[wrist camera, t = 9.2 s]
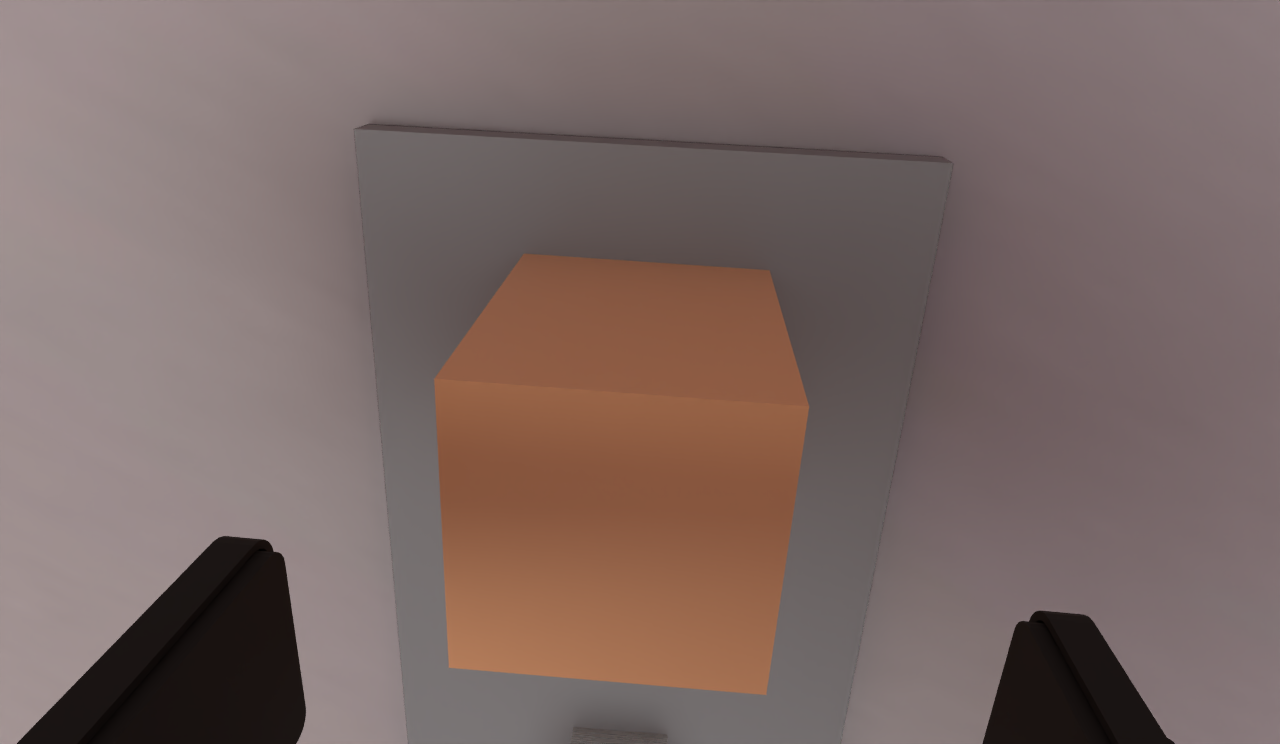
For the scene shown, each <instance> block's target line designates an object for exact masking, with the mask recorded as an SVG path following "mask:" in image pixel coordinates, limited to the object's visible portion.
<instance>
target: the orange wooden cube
mask: <svg viewBox="0 0 1280 744" xmlns="http://www.w3.org/2000/svg"><path fill="white" fill-rule="evenodd" d="M434 385H435V405H436V424H437V444H438V464H439V483H440V503H441V523H442V542H443V562H444V582H445V601H446V621H447V641H448V660H449V668H457V669H469V670H481V671H492V672H504V673H515V674H527V675H539V676H550V677H562V678H574V679H585V680H597V681H609V682H620V683H632V684H643V685H655V686H667V687H678V688H690V689H702V690H713V691H725V692H737V693H748V694H760V695H766V693H767V686H768V680H769V673H770V666H771V659H772V653H773V646H774V639H775V633H776V626H777V619H778V612H779V606H780V599H781V592H782V586H783V579H784V572H785V565H786V559H787V552H788V545H789V539H790V532H791V525H792V518H793V512H794V505H795V498H796V492H797V485H798V478H799V471H800V465H801V458H802V451H803V445H804V438H805V431H806V424H807V418H808V411H809V404H808V401H807V397H806V394H805V390H804V387H803V384H802V380H801V377H800V373H799V370H798V366H797V363H796V359H795V356H794V353H793V349H792V346H791V342H790V339H789V335H788V332H787V329H786V325H785V322H784V318H783V315H782V311H781V308H780V305H779V301H778V298H777V294H776V291H775V287H774V284H773V280H772V277H771V274H770V270H758V269H744V268H729V267H714V266H700V265H685V264H670V263H656V262H641V261H626V260H611V259H597V258H582V257H567V256H553V255H538V254H523V256H522V257H521V258H520V260H519V261H518V263H517V264H516V265H515V267H514V268H513V270H512V271H511V272H510V274H509V275H508V276H507V278H506V279H505V281H504V282H503V283H502V285H501V286H500V288H499V289H498V290H497V292H496V293H495V295H494V296H493V297H492V299H491V300H490V302H489V303H488V304H487V306H486V307H485V309H484V310H483V311H482V313H481V314H480V316H479V317H478V318H477V320H476V321H475V323H474V324H473V325H472V327H471V328H470V330H469V331H468V332H467V334H466V335H465V337H464V338H463V339H462V341H461V342H460V344H459V345H458V346H457V348H456V349H455V350H454V352H453V353H452V355H451V356H450V357H449V359H448V360H447V362H446V363H445V364H444V366H443V367H442V369H441V370H440V371H439V373H438V374H437V376H436V377H435V378H434Z"/></svg>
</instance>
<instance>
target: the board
mask: <svg viewBox="0 0 1280 744" xmlns="http://www.w3.org/2000/svg"><path fill="white" fill-rule="evenodd" d="M354 136H355V147H356V158H357V170H358V181H359V192H360V204H361V215H362V227H363V238H364V249H365V261H366V272H367V284H368V295H369V306H370V318H371V329H372V341H373V352H374V363H375V375H376V386H377V398H378V409H379V420H380V432H381V443H382V455H383V466H384V477H385V489H386V500H387V512H388V523H389V534H390V546H391V557H392V568H393V580H394V591H395V603H396V614H397V625H398V637H399V648H400V660H401V671H402V682H403V694H404V705H405V717H406V728H407V739H408V744H570V743H571V737H572V732H573V727H582V728H594V729H606V730H618V731H630V732H642V733H654V734H666V735H667V744H841V740H842V735H843V730H844V724H845V719H846V714H847V709H848V704H849V699H850V694H851V688H852V683H853V678H854V673H855V668H856V663H857V657H858V652H859V647H860V642H861V637H862V632H863V627H864V621H865V616H866V611H867V606H868V601H869V596H870V591H871V585H872V580H873V575H874V570H875V565H876V560H877V555H878V549H879V544H880V539H881V534H882V529H883V524H884V519H885V513H886V508H887V503H888V498H889V493H890V488H891V483H892V477H893V472H894V467H895V462H896V457H897V452H898V447H899V441H900V436H901V431H902V426H903V421H904V416H905V410H906V405H907V400H908V395H909V390H910V385H911V380H912V374H913V369H914V364H915V359H916V354H917V349H918V344H919V338H920V333H921V328H922V323H923V318H924V313H925V308H926V302H927V297H928V292H929V287H930V282H931V277H932V272H933V266H934V261H935V256H936V251H937V246H938V241H939V236H940V230H941V225H942V220H943V215H944V210H945V205H946V200H947V194H948V189H949V184H950V179H951V174H952V169H953V163H952V162H950V161H949V160H947V159H945V158H943V157H935V156H918V155H900V154H883V153H865V152H847V151H830V150H812V149H795V148H777V147H760V146H742V145H724V144H707V143H689V142H672V141H654V140H636V139H619V138H601V137H584V136H566V135H549V134H531V133H513V132H496V131H478V130H461V129H443V128H426V127H408V126H390V125H373V124H367V125H364V126H361V127H359V128H356V129H354ZM523 254H538V255H553V256H567V257H582V258H597V259H611V260H626V261H641V262H656V263H670V264H685V265H700V266H714V267H729V268H744V269H758V270H770V274H771V277H772V280H773V284H774V287H775V291H776V294H777V298H778V301H779V305H780V308H781V311H782V315H783V318H784V322H785V325H786V329H787V332H788V335H789V339H790V342H791V346H792V349H793V353H794V356H795V359H796V363H797V366H798V370H799V373H800V377H801V380H802V384H803V387H804V390H805V394H806V397H807V401H808V404H809V411H808V418H807V424H806V431H805V438H804V445H803V451H802V458H801V465H800V471H799V478H798V485H797V492H796V498H795V505H794V512H793V518H792V525H791V532H790V539H789V545H788V552H787V559H786V565H785V572H784V579H783V586H782V592H781V599H780V606H779V612H778V619H777V626H776V633H775V639H774V646H773V653H772V659H771V666H770V673H769V680H768V686H767V693H766V695H760V694H748V693H737V692H725V691H713V690H702V689H690V688H678V687H667V686H655V685H643V684H632V683H620V682H609V681H597V680H585V679H574V678H562V677H550V676H539V675H527V674H515V673H504V672H492V671H481V670H469V669H457V668H449V660H448V641H447V621H446V601H445V582H444V562H443V542H442V523H441V503H440V483H439V464H438V444H437V424H436V405H435V385H434V378H435V377H436V376H437V374H438V373H439V371H440V370H441V369H442V367H443V366H444V364H445V363H446V362H447V360H448V359H449V357H450V356H451V355H452V353H453V352H454V350H455V349H456V348H457V346H458V345H459V344H460V342H461V341H462V339H463V338H464V337H465V335H466V334H467V332H468V331H469V330H470V328H471V327H472V325H473V324H474V323H475V321H476V320H477V318H478V317H479V316H480V314H481V313H482V311H483V310H484V309H485V307H486V306H487V304H488V303H489V302H490V300H491V299H492V297H493V296H494V295H495V293H496V292H497V290H498V289H499V288H500V286H501V285H502V283H503V282H504V281H505V279H506V278H507V276H508V275H509V274H510V272H511V271H512V270H513V268H514V267H515V265H516V264H517V263H518V261H519V260H520V258H521V257H522V256H523Z"/></svg>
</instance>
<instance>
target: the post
mask: <svg viewBox="0 0 1280 744" xmlns="http://www.w3.org/2000/svg"><path fill="white" fill-rule="evenodd" d="M570 744H667V735H666V734H654V733H642V732H630V731H618V730H606V729H594V728H582V727H573V732H572V737H571V743H570Z"/></svg>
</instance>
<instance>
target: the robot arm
mask: <svg viewBox="0 0 1280 744" xmlns="http://www.w3.org/2000/svg"><path fill="white" fill-rule="evenodd" d="M305 716H306V706H305V699H304V692H303V685H302V678H301V671H300V664H299V657H298V650H297V643H296V636H295V630H294V623H293V616H292V609H291V602H290V595H289V588H288V581H287V574H286V567H285V561H284V557H283V556H282V554H280V553H278V552H273V548H272V546H271V544H270V543H269V542H268V541H266V540H262V539H251V538H240V537H229V536H223V537H219V538H218V539H216V540H215V541H214V542H213V543H212V544H211V545H210V546H209V547H208V548H207V549H206V550H205V551H204V552H203V553H202V554H201V555H200V556H199V557H198V558H197V559H196V560H195V561H194V562H193V563H192V564H191V565H190V566H189V567H188V568H187V569H186V570H185V571H184V572H183V573H182V574H181V575H180V577H179V578H178V579H177V580H176V581H175V582H174V583H173V584H172V585H171V586H170V587H169V588H168V589H167V590H166V591H165V592H164V593H163V594H162V595H161V596H160V597H159V598H158V599H157V600H156V601H155V602H154V603H153V604H152V605H151V606H150V607H149V608H148V609H147V610H146V611H145V612H144V613H143V614H142V616H141V617H140V618H139V619H138V620H137V621H136V622H135V623H134V624H133V625H132V626H131V627H130V628H129V629H128V630H127V631H126V632H125V633H124V634H123V635H122V636H121V637H120V638H119V639H118V640H117V641H116V642H115V643H114V644H113V645H112V646H111V647H110V648H109V649H108V650H107V651H106V652H105V653H104V655H103V656H102V657H101V658H100V659H99V660H98V661H97V662H96V663H95V664H94V665H93V666H92V667H91V668H90V669H89V670H88V671H87V672H86V673H85V674H84V675H83V676H82V677H81V678H80V679H79V680H78V681H77V682H76V683H75V684H74V685H73V686H72V687H71V688H70V689H69V690H68V691H67V692H66V694H65V695H64V696H63V697H62V698H61V699H60V700H59V701H58V702H57V703H56V704H55V705H54V706H53V707H52V708H51V709H50V710H49V711H48V712H47V713H46V714H45V715H44V716H43V717H42V718H41V719H40V720H39V721H38V722H37V723H36V724H35V725H34V726H33V727H32V728H31V729H30V730H29V731H28V733H27V734H26V735H25V736H24V737H23V738H22V739H21V740H20V741H19V742H18V743H17V744H296V743H297V741H298V739H299V737H300V735H301V733H302V730H303V727H304V722H305ZM983 744H1175V743H1174V742H1173V741H1171V740H1170V739H1168V738H1167V737H1166V736H1165V734H1164V733H1163V731H1162V729H1161V728H1160V726H1159V725H1158V723H1157V721H1156V720H1155V718H1154V717H1153V715H1152V714H1151V712H1150V710H1149V709H1148V707H1147V706H1146V704H1145V702H1144V701H1143V699H1142V698H1141V696H1140V695H1139V693H1138V691H1137V690H1136V688H1135V687H1134V685H1133V684H1132V682H1131V680H1130V679H1129V677H1128V676H1127V674H1126V672H1125V671H1124V669H1123V668H1122V666H1121V665H1120V663H1119V661H1118V660H1117V658H1116V657H1115V655H1114V654H1113V652H1112V650H1111V649H1110V647H1109V646H1108V644H1107V642H1106V641H1105V639H1104V638H1103V636H1102V635H1101V633H1100V631H1099V630H1098V628H1097V627H1096V625H1095V624H1094V622H1093V621H1092V620H1091V619H1090V618H1089V617H1088V616H1086V615H1081V614H1070V613H1060V612H1049V611H1037V612H1035V613H1034V614H1033V615H1032V616H1031V618H1030V621H1029V622H1026V621H1021V622H1019V623H1018V624H1017V625H1016V627H1015V630H1014V633H1013V637H1012V640H1011V644H1010V647H1009V651H1008V655H1007V658H1006V662H1005V665H1004V669H1003V672H1002V676H1001V680H1000V683H999V687H998V690H997V694H996V697H995V701H994V705H993V708H992V712H991V715H990V719H989V723H988V726H987V730H986V733H985V737H984V740H983Z"/></svg>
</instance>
